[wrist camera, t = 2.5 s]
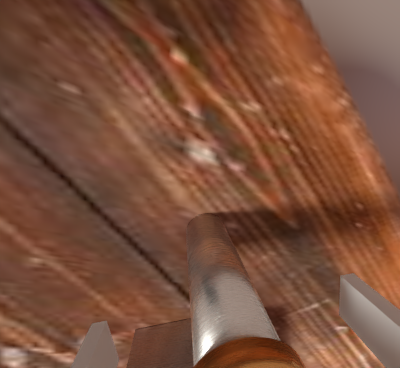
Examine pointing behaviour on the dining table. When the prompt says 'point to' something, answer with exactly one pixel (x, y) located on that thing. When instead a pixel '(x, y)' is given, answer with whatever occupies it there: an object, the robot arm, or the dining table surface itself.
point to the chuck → (163, 346)
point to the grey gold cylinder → (228, 305)
